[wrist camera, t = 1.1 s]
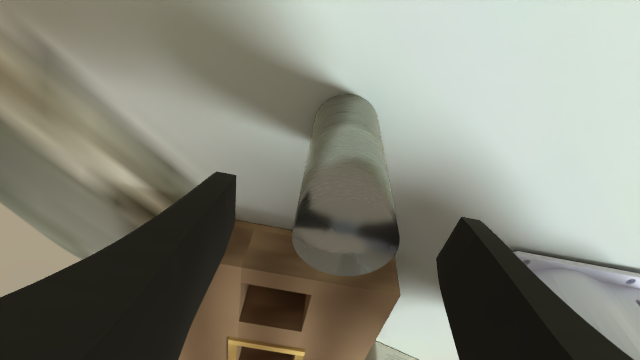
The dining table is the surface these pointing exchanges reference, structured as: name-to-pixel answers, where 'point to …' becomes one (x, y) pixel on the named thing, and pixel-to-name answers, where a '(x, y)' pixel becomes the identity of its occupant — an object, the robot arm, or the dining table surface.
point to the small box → (385, 353)
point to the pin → (346, 193)
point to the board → (286, 304)
